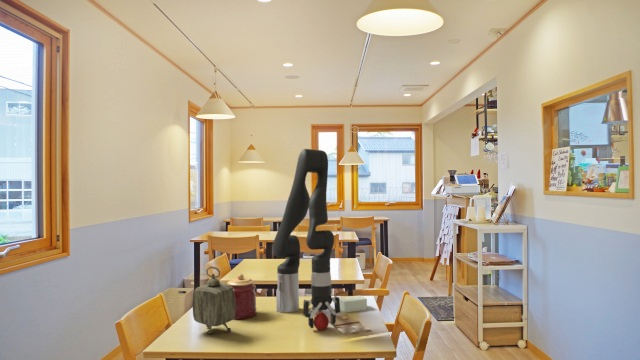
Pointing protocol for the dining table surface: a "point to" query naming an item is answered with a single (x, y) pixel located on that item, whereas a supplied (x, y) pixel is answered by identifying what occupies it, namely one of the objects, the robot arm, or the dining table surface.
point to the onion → (321, 321)
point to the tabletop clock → (214, 303)
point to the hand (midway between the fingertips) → (322, 325)
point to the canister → (244, 297)
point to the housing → (353, 303)
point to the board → (349, 325)
